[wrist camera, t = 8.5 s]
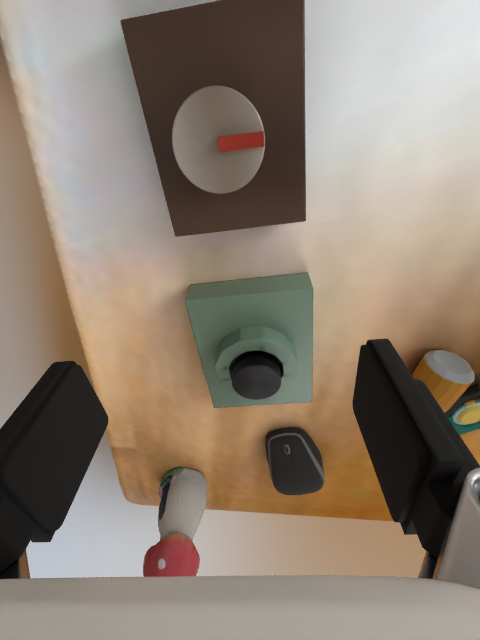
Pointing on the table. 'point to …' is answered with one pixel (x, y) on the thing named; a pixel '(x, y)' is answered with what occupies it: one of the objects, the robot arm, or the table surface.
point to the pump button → (256, 375)
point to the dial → (218, 139)
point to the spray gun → (452, 388)
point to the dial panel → (241, 75)
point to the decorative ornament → (177, 525)
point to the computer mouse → (294, 462)
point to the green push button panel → (255, 333)
